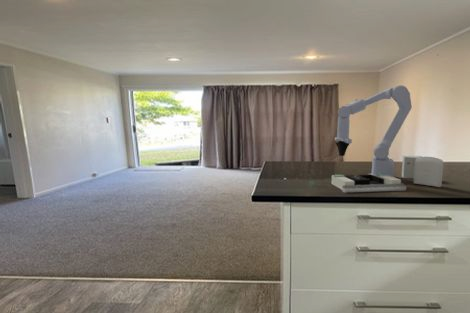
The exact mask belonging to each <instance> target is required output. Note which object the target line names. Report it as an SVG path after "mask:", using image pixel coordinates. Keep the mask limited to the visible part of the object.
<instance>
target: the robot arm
mask: <svg viewBox="0 0 470 313" xmlns="http://www.w3.org/2000/svg"><path fill="white" fill-rule="evenodd" d="M391 99H393V100H394V101H395V102H396V105H397V107H398V109H397V112H396V113H395V115H394V117H393V119H392V121H391V123H390V125H389V126H388V128H387V130H386V132H385V133H384V134H383V137H382V139H381V140H380V143H379V144H377V145H376V146H375V148H374V151H373V155H374V156H373V157H372V160H371V162H372V164H371V173H370V174H371V175H374V174H379V173H385V174H388V176H391V177H394V178H396V177H395V161H394V159H392V158H389V152H390V148H391V147H392V144H393V142H394V141H395V139H396V136H397V135H398V133H399V132H400V130H401V128H402V126H403V124H404V122H405V121H406V119H407V117H408V115H409V113H410V112H411V110H412V108H413V106H412V99H411V93H410V91H409V89H408V88H407V87H406V86H405V85H397V86H395V87H394V88H393V87H391V88H388V89H385V90H382V91H380V92H378V93H376V94H374V95H372V96H370V97H368V98H366V99H362V98H356V99H355V100H354V101H352V102H350V103H346V104H345V105H342V106H340V108H338V109H337V115H338V117H337V125H336V126H337V131H336V136H335V137H334V141H335V145H336V147H337V151H338V155H339V156H340V157H345V155H346V153H347V150H348V147H349V146H350V144H352V143H353V139H351V138H350V137H349V136H350V116H351V115H355V114H357V113H359V112H362V111H364V110H366V108H367V107H368V106H369V105H372V104H374V103H377V102H379V101H382V100H391Z"/></svg>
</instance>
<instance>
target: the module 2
mask: <svg viewBox="0 0 470 313" xmlns="http://www.w3.org/2000/svg"><path fill="white" fill-rule="evenodd" d="M374 176H377V177H380V178H383V179H384V184H400V183H402V180H401V179H400V178H397V177H395V178H394V177H391V176H388V174H385V173H379V174H374Z"/></svg>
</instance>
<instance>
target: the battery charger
mask: <svg viewBox="0 0 470 313" xmlns="http://www.w3.org/2000/svg"><path fill="white" fill-rule="evenodd" d="M371 174H372V173H366V174H350V175H348V174H347V175H344V174H343V175H344V176H345V177H346V178H348V179H351V180H353V181H355V182H354V185H371V184H384V179H383V178H380V177H377V176H374V175H371Z"/></svg>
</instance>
